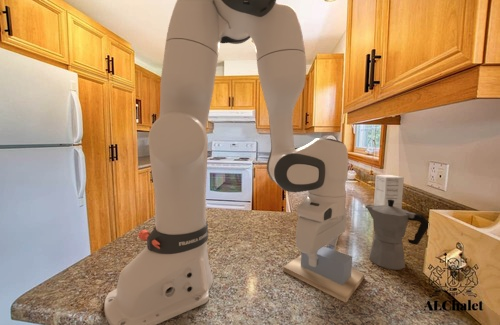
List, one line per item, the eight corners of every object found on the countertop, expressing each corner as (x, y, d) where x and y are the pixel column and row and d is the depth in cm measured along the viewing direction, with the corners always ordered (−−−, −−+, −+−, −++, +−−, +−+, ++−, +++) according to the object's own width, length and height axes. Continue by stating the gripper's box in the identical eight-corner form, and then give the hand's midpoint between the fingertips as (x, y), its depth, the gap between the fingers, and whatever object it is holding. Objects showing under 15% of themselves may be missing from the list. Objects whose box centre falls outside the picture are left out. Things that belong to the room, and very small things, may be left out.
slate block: (351, 276, 54) (310, 259, 61) (352, 256, 53) (310, 241, 61) (343, 285, 50) (300, 266, 58) (344, 264, 50) (301, 247, 57)
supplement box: (402, 210, 111) (405, 177, 109) (384, 210, 111) (386, 177, 109) (389, 205, 121) (392, 174, 119) (373, 204, 120) (375, 174, 119)
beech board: (345, 302, 46) (346, 297, 46) (283, 271, 57) (283, 266, 57) (364, 278, 55) (364, 273, 55) (306, 254, 66) (306, 250, 66)
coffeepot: (355, 256, 65) (359, 197, 64) (369, 247, 71) (373, 192, 69) (418, 283, 53) (425, 210, 52) (429, 269, 59) (435, 204, 57)
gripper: (331, 195, 64) (328, 241, 65) (292, 209, 49) (289, 268, 51) (354, 199, 59) (350, 248, 61) (318, 216, 45) (314, 280, 46)
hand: (322, 257), depth 56 cm, fingers open, 8 cm apart
